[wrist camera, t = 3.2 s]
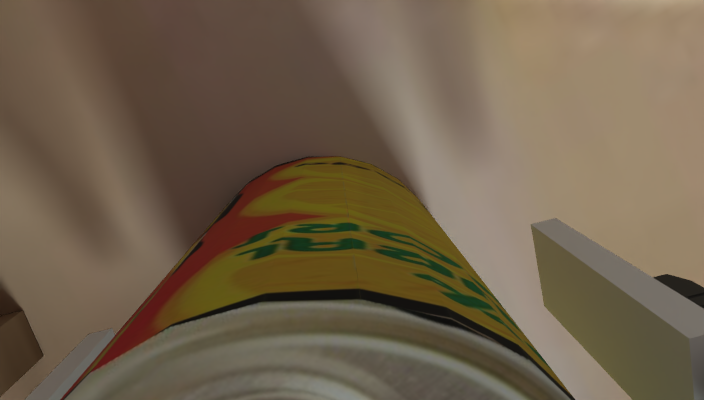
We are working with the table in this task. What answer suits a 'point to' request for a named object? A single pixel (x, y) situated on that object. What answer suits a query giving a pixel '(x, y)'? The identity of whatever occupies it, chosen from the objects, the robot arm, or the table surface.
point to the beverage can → (321, 305)
